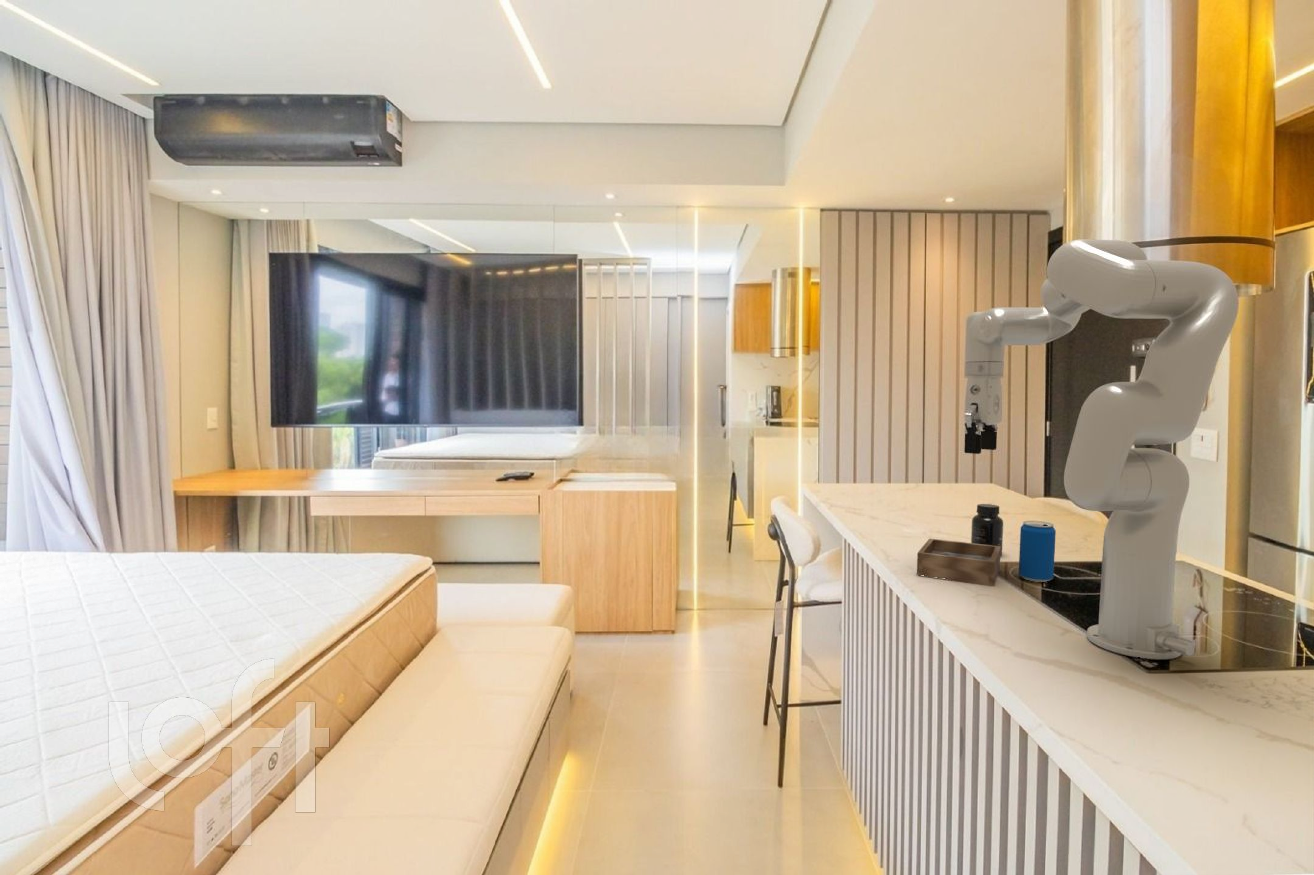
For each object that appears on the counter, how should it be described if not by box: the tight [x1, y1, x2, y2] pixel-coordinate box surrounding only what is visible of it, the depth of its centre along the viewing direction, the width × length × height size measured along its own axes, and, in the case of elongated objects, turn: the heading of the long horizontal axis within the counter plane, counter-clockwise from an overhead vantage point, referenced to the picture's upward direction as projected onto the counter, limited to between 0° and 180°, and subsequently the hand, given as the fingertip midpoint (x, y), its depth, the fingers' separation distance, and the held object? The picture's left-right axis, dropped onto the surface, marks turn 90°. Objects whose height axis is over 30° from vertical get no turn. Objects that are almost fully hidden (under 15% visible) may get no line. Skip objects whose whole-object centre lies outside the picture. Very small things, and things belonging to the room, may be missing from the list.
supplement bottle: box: [970, 503, 1004, 557], centre depth 166 cm, size 7×7×12 cm
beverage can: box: [1018, 520, 1057, 583], centre depth 146 cm, size 6×6×12 cm
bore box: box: [916, 538, 1001, 587], centre depth 152 cm, size 15×15×5 cm
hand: (980, 451), depth 148 cm, fingers open, 9 cm apart
